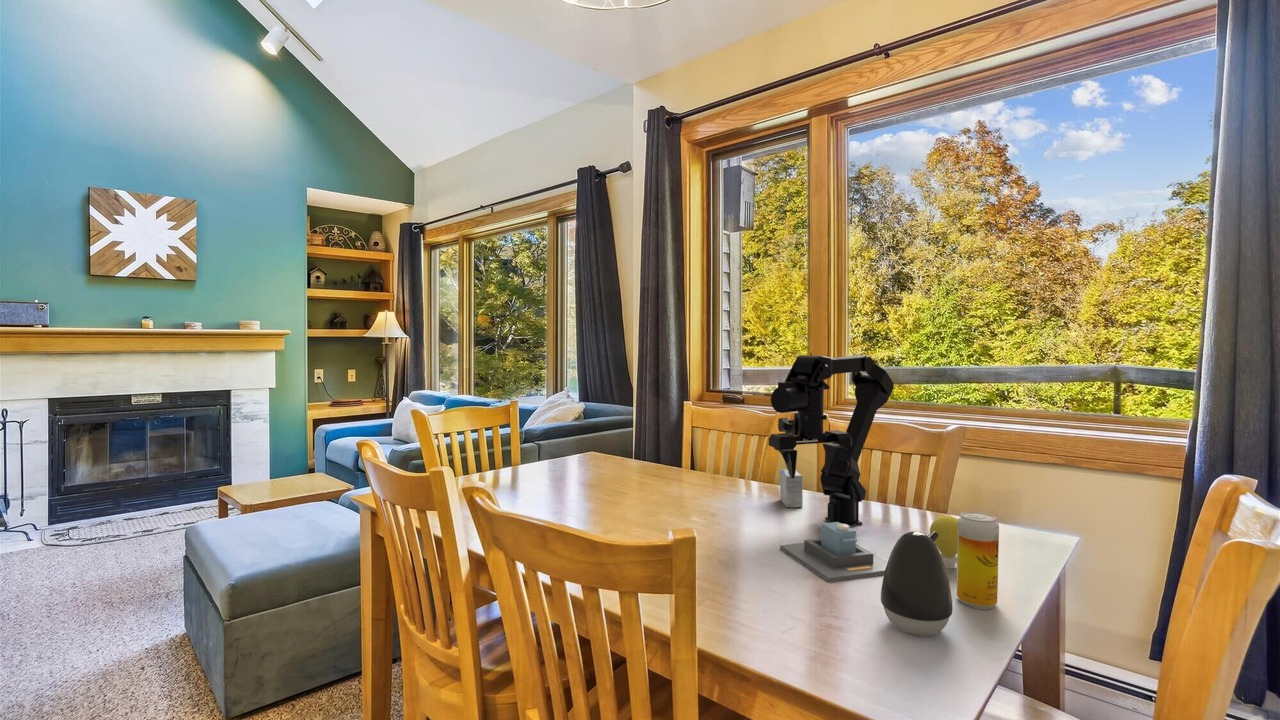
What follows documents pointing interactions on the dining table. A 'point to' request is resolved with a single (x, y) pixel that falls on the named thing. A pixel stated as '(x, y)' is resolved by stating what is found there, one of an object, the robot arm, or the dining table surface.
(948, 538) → the light bulb
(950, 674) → the dining table surface
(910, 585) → the dark egg-shaped diffuser
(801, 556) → the chassis plate
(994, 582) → the beer can
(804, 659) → the dining table surface
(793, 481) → the medicine box
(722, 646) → the dining table surface
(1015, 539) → the dining table surface
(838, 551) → the block
